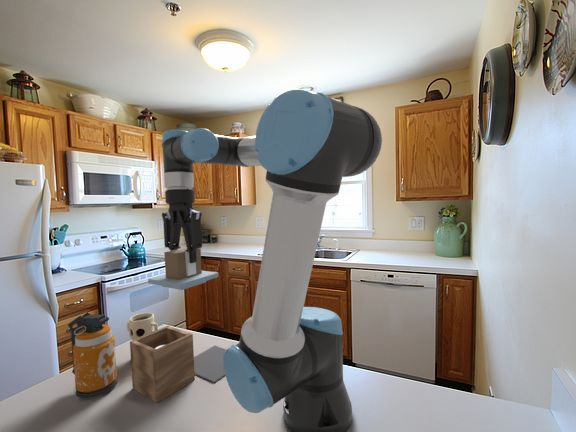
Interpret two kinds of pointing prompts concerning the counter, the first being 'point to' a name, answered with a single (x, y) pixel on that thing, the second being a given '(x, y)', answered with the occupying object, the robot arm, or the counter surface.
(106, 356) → the canister
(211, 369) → the mat
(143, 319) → the character mug
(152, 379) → the box
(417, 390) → the counter surface
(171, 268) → the lid
